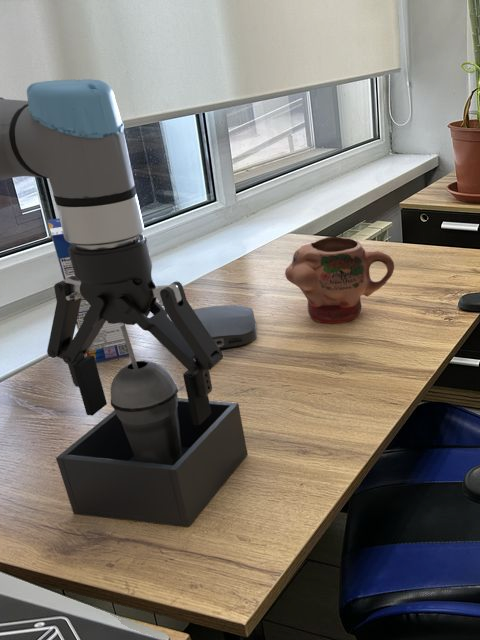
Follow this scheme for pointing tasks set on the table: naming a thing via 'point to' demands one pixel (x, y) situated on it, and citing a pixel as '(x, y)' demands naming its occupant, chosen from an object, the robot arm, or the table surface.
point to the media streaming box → (228, 324)
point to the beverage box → (88, 305)
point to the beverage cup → (147, 409)
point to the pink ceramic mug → (335, 277)
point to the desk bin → (153, 469)
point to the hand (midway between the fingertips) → (149, 414)
